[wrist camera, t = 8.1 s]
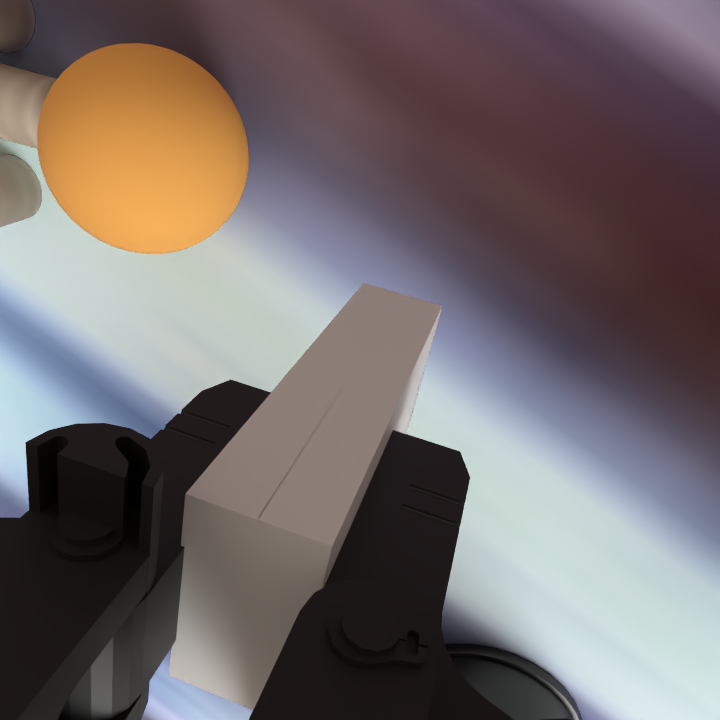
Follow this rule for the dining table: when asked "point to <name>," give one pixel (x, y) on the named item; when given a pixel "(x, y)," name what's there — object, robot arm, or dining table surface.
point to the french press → (513, 683)
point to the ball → (142, 148)
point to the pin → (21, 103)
